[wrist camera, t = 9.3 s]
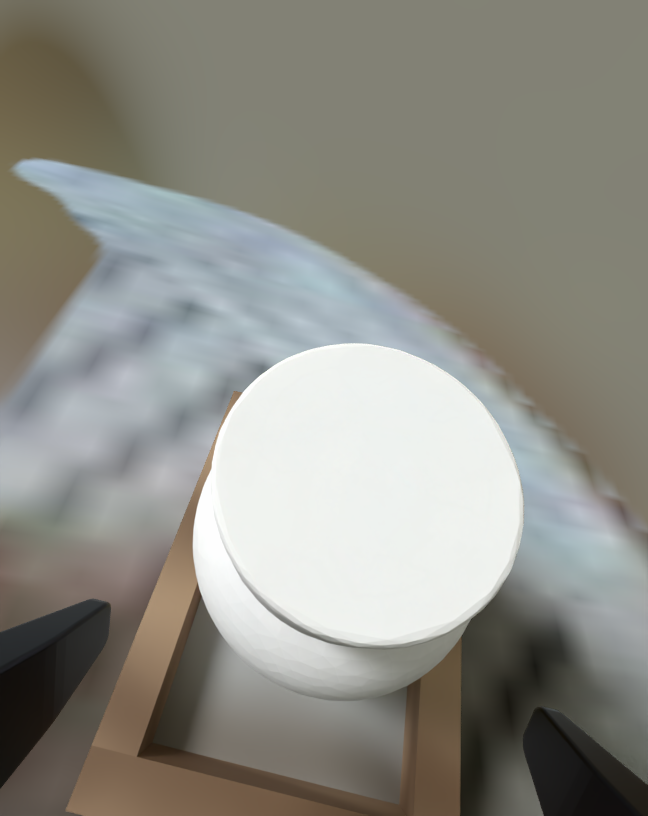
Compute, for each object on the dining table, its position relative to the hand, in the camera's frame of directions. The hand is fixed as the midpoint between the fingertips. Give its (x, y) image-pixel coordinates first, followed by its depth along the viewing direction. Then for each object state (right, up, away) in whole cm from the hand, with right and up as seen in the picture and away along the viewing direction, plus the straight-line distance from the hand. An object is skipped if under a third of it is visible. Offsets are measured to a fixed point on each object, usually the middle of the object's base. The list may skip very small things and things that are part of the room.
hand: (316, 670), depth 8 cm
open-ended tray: (0, -2, +9) cm, 10 cm away
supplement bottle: (0, -2, +9) cm, 9 cm away
